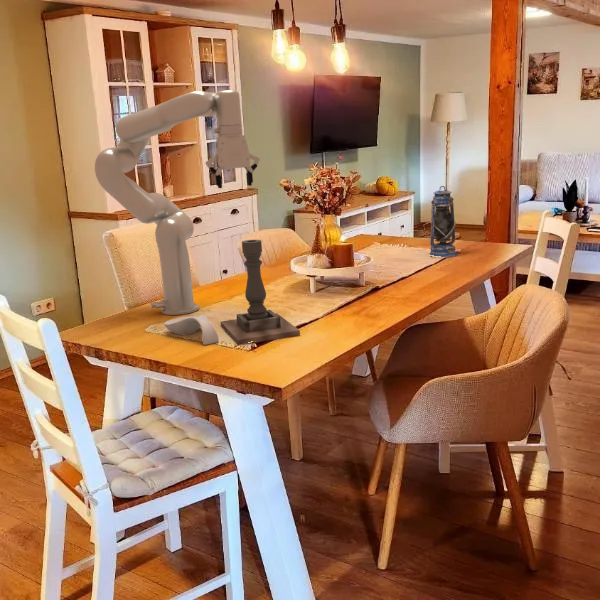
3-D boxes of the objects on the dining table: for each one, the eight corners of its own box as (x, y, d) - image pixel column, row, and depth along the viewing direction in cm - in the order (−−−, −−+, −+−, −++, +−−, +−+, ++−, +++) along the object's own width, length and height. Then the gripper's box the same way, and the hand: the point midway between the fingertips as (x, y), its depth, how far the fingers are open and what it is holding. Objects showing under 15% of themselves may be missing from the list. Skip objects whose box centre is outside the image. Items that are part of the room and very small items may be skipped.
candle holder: (270, 322, 205) (263, 239, 199) (267, 328, 199) (260, 242, 193) (249, 323, 206) (242, 240, 200) (245, 328, 200) (238, 243, 194)
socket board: (238, 345, 190) (236, 329, 188) (220, 326, 210) (219, 311, 209) (300, 335, 195) (299, 320, 194) (277, 317, 215) (276, 303, 214)
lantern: (444, 251, 311) (443, 184, 304) (465, 254, 301) (465, 184, 294) (420, 256, 302) (418, 187, 295) (441, 259, 292) (440, 188, 285)
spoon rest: (159, 332, 208) (156, 309, 207) (194, 324, 215) (192, 302, 213) (193, 349, 189) (191, 324, 187) (231, 340, 195) (229, 316, 194)
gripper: (205, 132, 210) (210, 189, 214) (260, 129, 215) (264, 185, 219) (200, 133, 217) (205, 188, 221) (253, 130, 222) (257, 183, 226)
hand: (234, 186), depth 220 cm, fingers open, 9 cm apart
